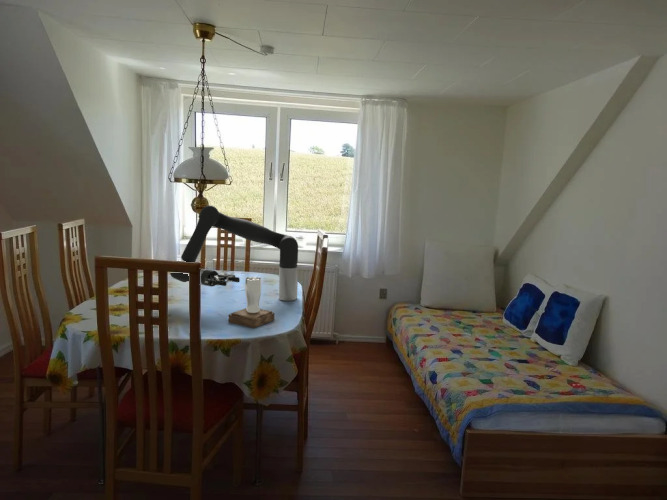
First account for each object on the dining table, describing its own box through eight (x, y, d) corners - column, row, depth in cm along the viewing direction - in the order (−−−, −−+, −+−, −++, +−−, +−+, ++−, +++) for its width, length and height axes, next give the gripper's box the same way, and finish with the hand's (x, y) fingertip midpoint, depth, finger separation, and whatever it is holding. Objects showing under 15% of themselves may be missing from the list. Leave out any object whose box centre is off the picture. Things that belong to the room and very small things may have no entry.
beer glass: (241, 311, 196) (242, 277, 194) (255, 308, 201) (255, 276, 199) (250, 314, 191) (251, 280, 189) (264, 312, 196) (264, 278, 194)
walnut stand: (249, 314, 205) (249, 306, 204) (274, 319, 198) (274, 311, 198) (228, 322, 193) (228, 313, 192) (253, 328, 186) (254, 318, 186)
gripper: (194, 272, 201) (221, 276, 193) (216, 267, 213) (243, 271, 205) (194, 288, 202) (221, 293, 194) (217, 282, 214) (243, 286, 206)
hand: (232, 281), depth 199 cm, fingers open, 8 cm apart
